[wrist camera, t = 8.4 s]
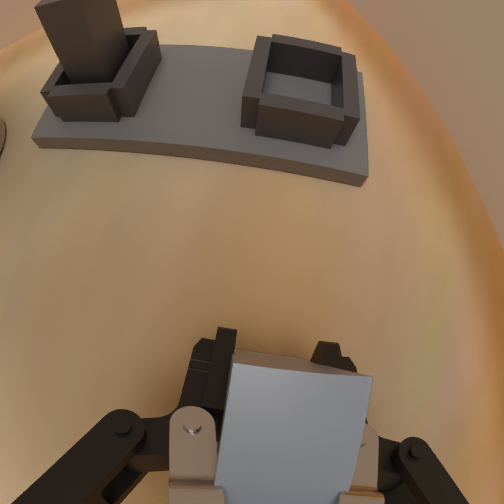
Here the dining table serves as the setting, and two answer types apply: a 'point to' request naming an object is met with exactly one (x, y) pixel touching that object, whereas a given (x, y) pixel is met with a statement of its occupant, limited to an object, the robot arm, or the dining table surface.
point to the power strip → (201, 96)
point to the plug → (289, 430)
